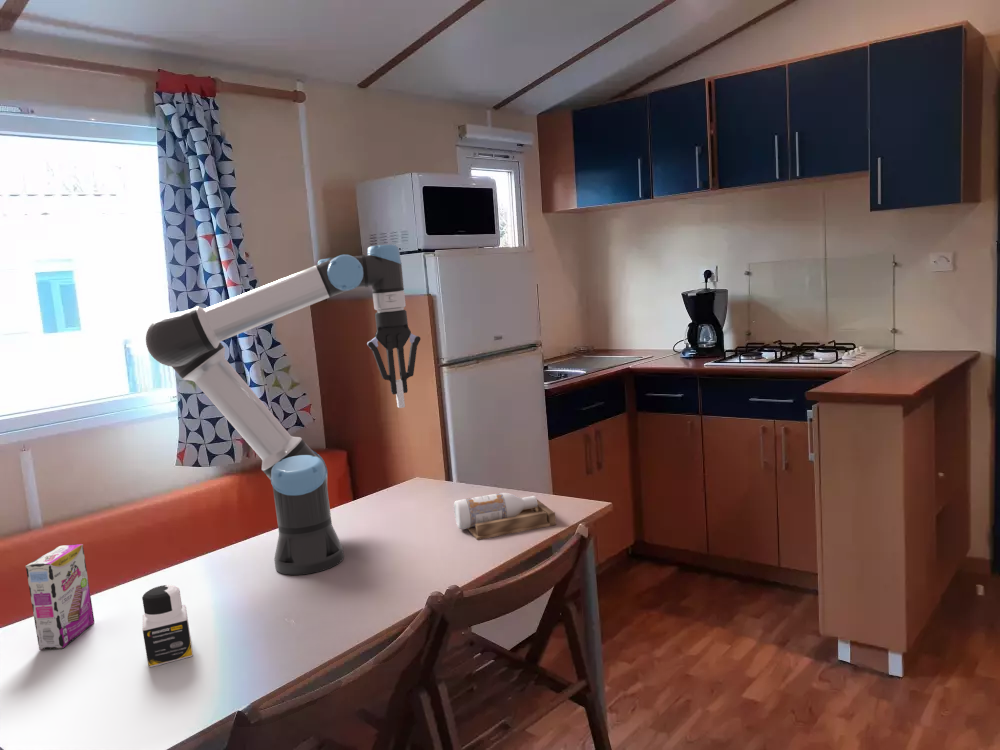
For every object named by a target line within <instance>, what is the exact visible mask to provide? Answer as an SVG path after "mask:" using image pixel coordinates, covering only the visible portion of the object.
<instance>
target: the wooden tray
mask: <svg viewBox="0 0 1000 750" xmlns="http://www.w3.org/2000/svg"><path fill="white" fill-rule="evenodd" d="M556 525H557V524H556V512H554V511H553V510H552V509H550V508H549V507H548V506H546V505H545V504H544V503H543V502H542V501H540V500H539V499H537V507H536V508H531V509H525V510H522V511H521V512H520V513H519V514H518V515H517V516H516V517H510V518H505V519H500V520H494V521H489V522H483V523H478V524H475V526H476V527H472V528H466V529H467V531H469V533H470V534H471V535H472V536H473V537H474V539H475V540H476V541H478V540H484V539H489V538H494V537H495V538H496V537H500V536H505V535H509V534H510V535H511V534H516V533H520V532H522V533H523V532H526V531H530V530H536V529H542V528H548V527H553V526H556Z"/></svg>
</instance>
